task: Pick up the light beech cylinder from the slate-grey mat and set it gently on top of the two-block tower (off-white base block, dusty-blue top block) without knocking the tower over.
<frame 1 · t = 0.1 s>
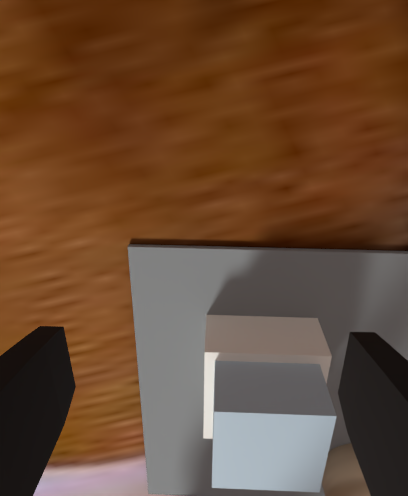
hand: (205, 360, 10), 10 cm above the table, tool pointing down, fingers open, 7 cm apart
top block: (263, 400, 20), point 3 cm above the table, touching base block
slate mat: (286, 394, 24), on the table
beech cylinder: (352, 465, 26), resting on slate mat
base block: (257, 359, 22), resting on slate mat, touching top block
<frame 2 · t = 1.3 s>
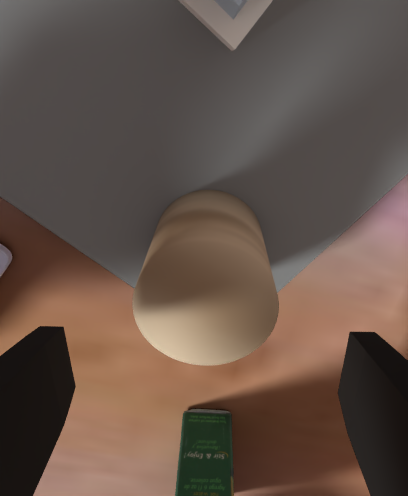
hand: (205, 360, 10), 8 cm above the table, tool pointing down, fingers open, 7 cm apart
slate mat: (209, 30, 13), on the table
beech cylinder: (208, 240, 16), resting on slate mat
coffee box: (206, 453, 23), on the table
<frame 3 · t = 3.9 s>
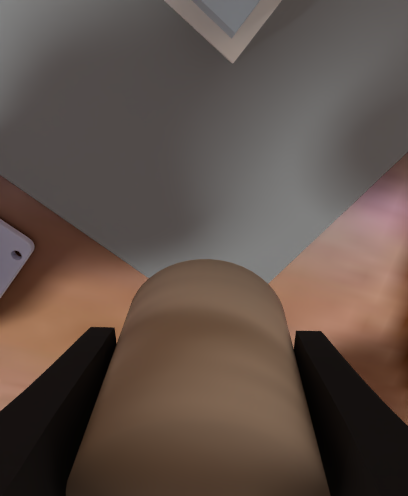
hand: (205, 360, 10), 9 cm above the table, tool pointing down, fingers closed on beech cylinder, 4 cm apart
slate mat: (211, 44, 15), on the table
beech cylinder: (206, 328, 11), point 8 cm above the table, touching gripper
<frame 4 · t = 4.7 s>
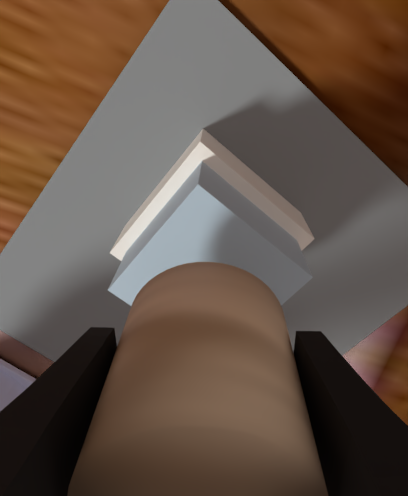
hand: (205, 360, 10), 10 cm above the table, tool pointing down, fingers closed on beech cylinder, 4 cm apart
top block: (210, 246, 16), point 3 cm above the table, touching base block
slate mat: (203, 280, 21), on the table
beech cylinder: (206, 330, 11), point 9 cm above the table, touching gripper
base block: (211, 219, 19), resting on slate mat, touching top block
when the fingers open (9 cm above the table, at t = 5.4 s): beech cylinder stays where it is, resting on top block.
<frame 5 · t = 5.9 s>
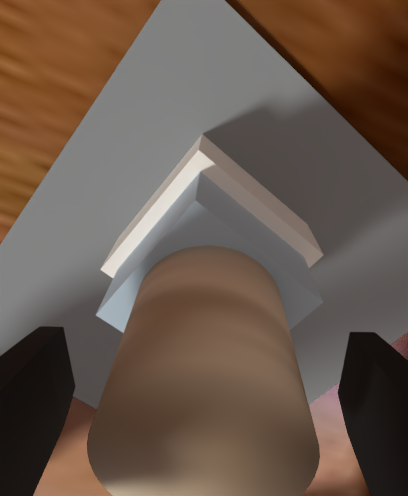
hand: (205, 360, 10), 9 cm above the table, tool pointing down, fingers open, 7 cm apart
top block: (209, 262, 15), point 3 cm above the table, touching base block, beech cylinder
slate mat: (203, 294, 19), on the table
beech cylinder: (208, 310, 12), point 6 cm above the table, touching top block
base block: (211, 230, 17), resting on slate mat, touching top block
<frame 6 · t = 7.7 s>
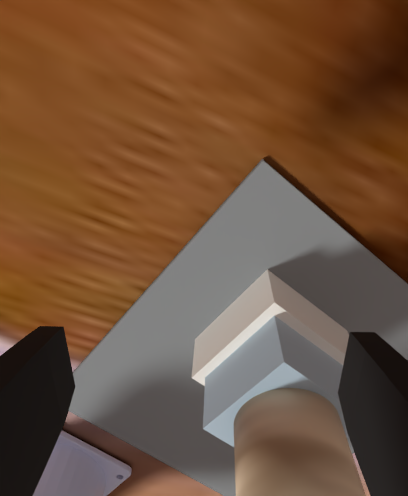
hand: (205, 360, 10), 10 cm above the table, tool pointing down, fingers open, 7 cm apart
top block: (276, 373, 19), point 3 cm above the table, touching base block, beech cylinder
slate mat: (259, 378, 24), on the table
beech cylinder: (286, 426, 17), point 6 cm above the table, touching top block
base block: (269, 334, 22), resting on slate mat, touching top block
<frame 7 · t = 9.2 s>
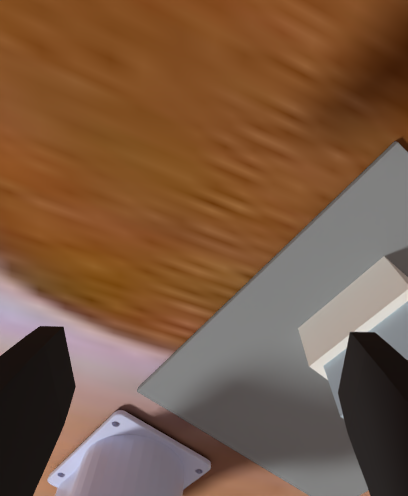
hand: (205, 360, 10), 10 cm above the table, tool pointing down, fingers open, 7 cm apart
top block: (397, 362, 19), point 3 cm above the table, touching base block, beech cylinder
slate mat: (356, 369, 23), on the table
base block: (375, 324, 21), resting on slate mat, touching top block
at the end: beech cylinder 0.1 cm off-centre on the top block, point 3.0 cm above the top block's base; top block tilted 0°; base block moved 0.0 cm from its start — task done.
